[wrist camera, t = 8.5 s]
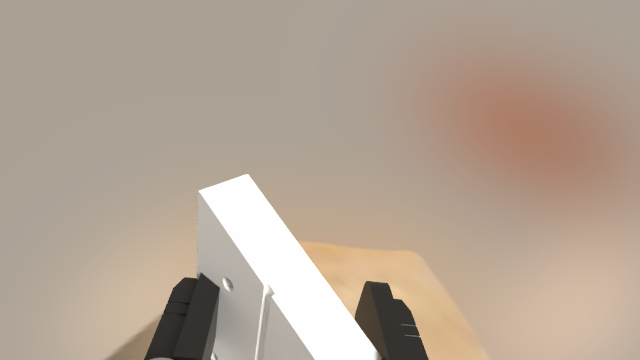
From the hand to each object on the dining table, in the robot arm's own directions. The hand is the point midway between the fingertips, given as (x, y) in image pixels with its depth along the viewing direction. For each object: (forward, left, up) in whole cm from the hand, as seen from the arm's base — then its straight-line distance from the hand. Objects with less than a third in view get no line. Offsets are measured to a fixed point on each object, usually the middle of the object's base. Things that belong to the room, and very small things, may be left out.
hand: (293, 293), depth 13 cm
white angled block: (-1, -2, -6) cm, 7 cm away
